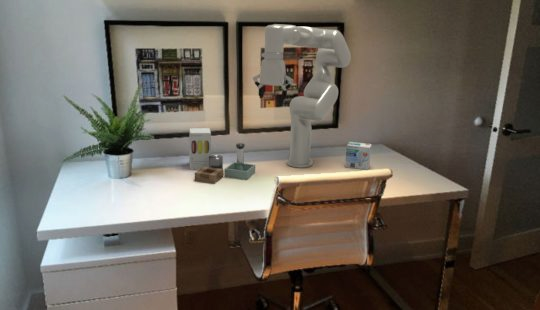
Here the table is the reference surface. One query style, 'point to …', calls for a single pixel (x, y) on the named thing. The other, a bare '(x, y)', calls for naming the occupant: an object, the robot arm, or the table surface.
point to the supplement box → (199, 147)
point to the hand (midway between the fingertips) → (272, 98)
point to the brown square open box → (209, 175)
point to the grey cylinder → (216, 161)
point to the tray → (234, 173)
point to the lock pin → (240, 156)
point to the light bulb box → (358, 155)
